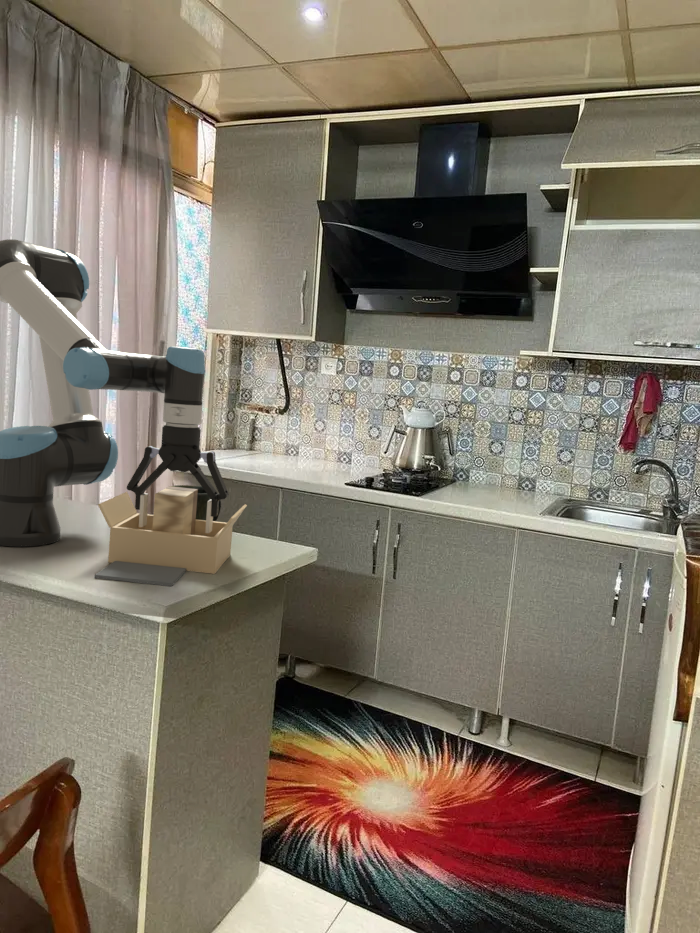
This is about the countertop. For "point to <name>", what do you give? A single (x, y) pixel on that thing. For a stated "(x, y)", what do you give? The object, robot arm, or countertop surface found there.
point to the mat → (141, 573)
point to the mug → (201, 502)
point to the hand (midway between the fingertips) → (175, 529)
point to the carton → (165, 540)
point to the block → (175, 510)
